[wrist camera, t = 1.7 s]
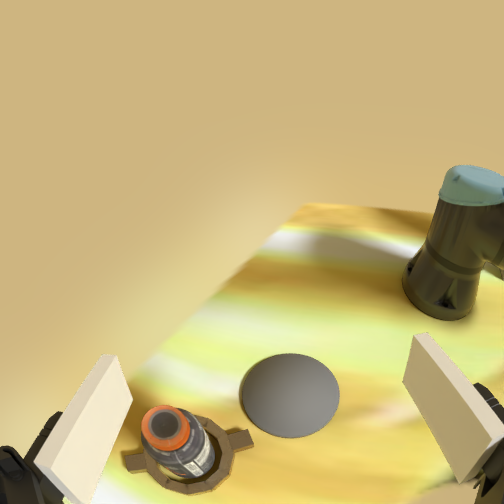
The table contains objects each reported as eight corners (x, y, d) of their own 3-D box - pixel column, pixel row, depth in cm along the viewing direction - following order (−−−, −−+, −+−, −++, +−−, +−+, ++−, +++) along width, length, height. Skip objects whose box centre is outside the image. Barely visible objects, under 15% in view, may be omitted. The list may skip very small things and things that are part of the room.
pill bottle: (154, 453, 28) (116, 419, 21) (190, 424, 31) (166, 381, 24) (189, 488, 24) (159, 470, 18) (226, 456, 28) (213, 425, 21)
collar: (237, 405, 33) (236, 400, 32) (266, 476, 26) (266, 474, 25) (124, 430, 30) (119, 426, 29) (139, 503, 22) (135, 502, 21)
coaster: (312, 344, 40) (313, 342, 40) (355, 414, 31) (356, 412, 31) (230, 371, 37) (229, 369, 37) (262, 452, 28) (262, 451, 28)
